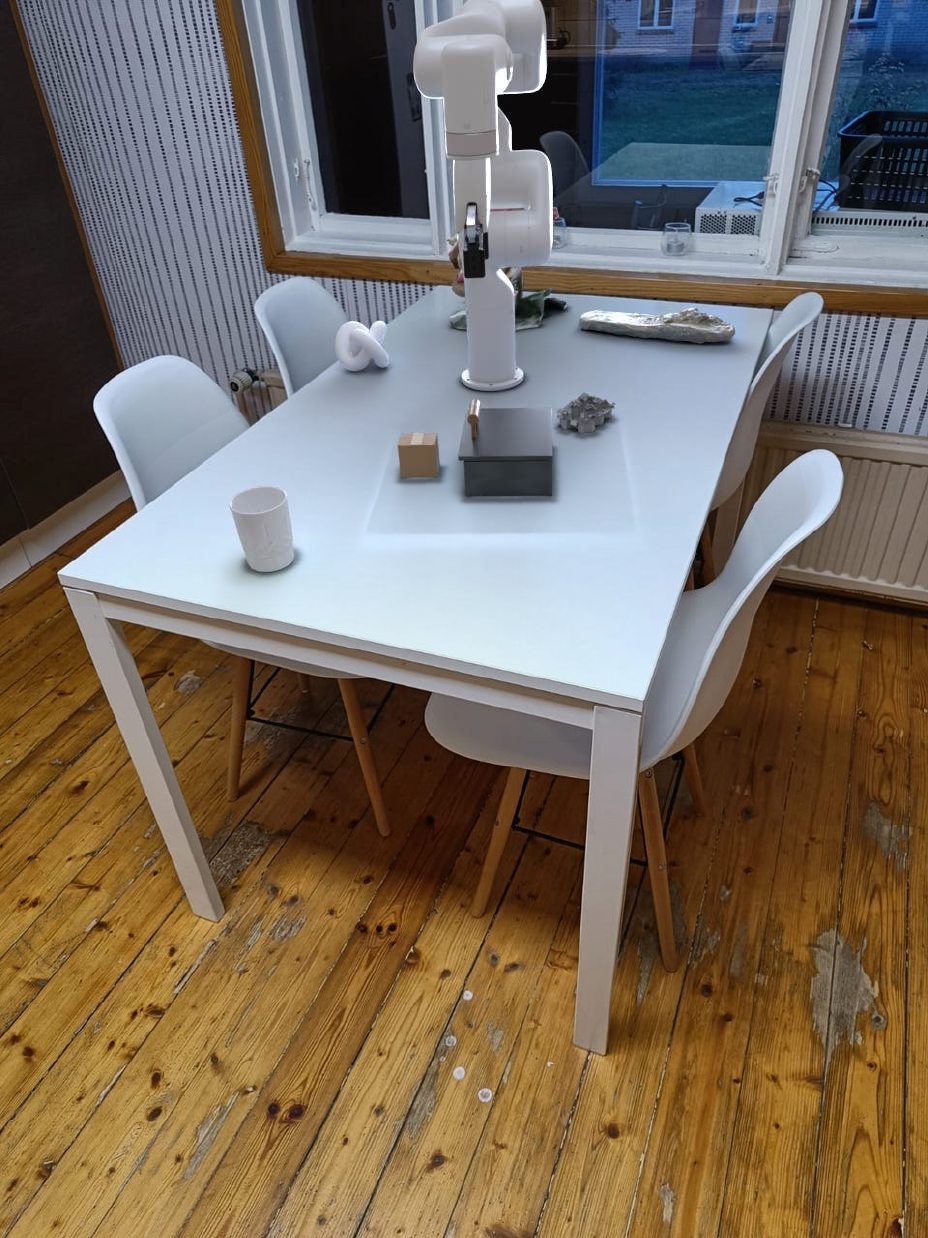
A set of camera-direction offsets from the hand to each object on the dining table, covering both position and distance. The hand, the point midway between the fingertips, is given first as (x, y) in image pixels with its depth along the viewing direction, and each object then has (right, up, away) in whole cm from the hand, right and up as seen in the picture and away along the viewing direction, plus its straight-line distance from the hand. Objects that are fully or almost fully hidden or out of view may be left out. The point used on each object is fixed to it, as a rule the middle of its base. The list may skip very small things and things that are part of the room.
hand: (477, 268), depth 134 cm
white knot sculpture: (-23, 0, +52) cm, 57 cm away
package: (-9, -30, +10) cm, 33 cm away
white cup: (-30, -46, -8) cm, 56 cm away
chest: (+6, -31, +9) cm, 32 cm away
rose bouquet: (+7, +18, +74) cm, 76 cm away
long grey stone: (+41, +9, +59) cm, 72 cm away
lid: (+5, -25, +5) cm, 26 cm away
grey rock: (+20, -19, +23) cm, 36 cm away
